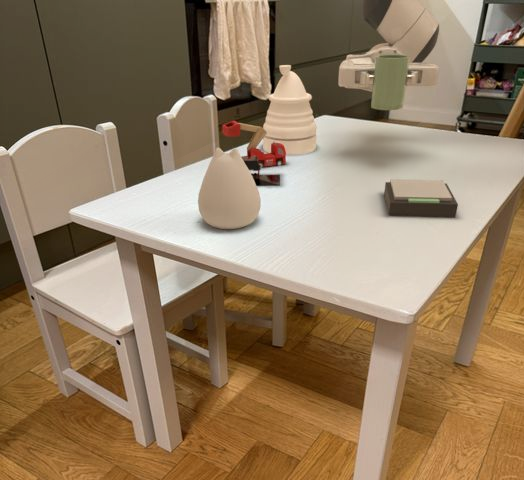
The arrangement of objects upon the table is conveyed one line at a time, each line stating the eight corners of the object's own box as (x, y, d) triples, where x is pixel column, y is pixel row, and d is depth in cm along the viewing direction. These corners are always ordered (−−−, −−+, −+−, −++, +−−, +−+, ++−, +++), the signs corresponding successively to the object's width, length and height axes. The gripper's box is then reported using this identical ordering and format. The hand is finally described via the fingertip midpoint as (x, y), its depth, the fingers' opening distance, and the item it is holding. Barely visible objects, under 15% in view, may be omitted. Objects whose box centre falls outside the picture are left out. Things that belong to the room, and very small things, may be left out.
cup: (401, 104, 104) (407, 54, 99) (404, 110, 99) (411, 58, 94) (369, 104, 105) (374, 54, 100) (371, 110, 100) (376, 58, 95)
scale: (444, 196, 93) (447, 179, 91) (455, 218, 84) (459, 200, 82) (383, 195, 94) (385, 178, 92) (388, 217, 85) (390, 199, 83)
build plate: (279, 176, 105) (280, 153, 102) (280, 188, 99) (280, 163, 96) (221, 176, 105) (219, 153, 102) (217, 188, 99) (216, 164, 96)
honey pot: (295, 159, 115) (296, 70, 104) (252, 150, 122) (249, 66, 111) (325, 147, 123) (330, 63, 112) (284, 139, 130) (284, 60, 119)
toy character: (265, 212, 88) (264, 140, 81) (255, 236, 80) (253, 158, 72) (208, 210, 89) (202, 139, 82) (192, 233, 81) (184, 156, 74)
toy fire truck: (287, 165, 111) (288, 118, 105) (228, 173, 107) (226, 124, 101) (282, 161, 113) (282, 115, 108) (224, 169, 109) (221, 121, 104)
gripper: (431, 86, 110) (441, 98, 99) (337, 87, 112) (337, 98, 101) (436, 53, 106) (447, 61, 95) (339, 54, 109) (339, 62, 98)
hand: (389, 80), depth 98 cm, fingers closed on cup, 6 cm apart
